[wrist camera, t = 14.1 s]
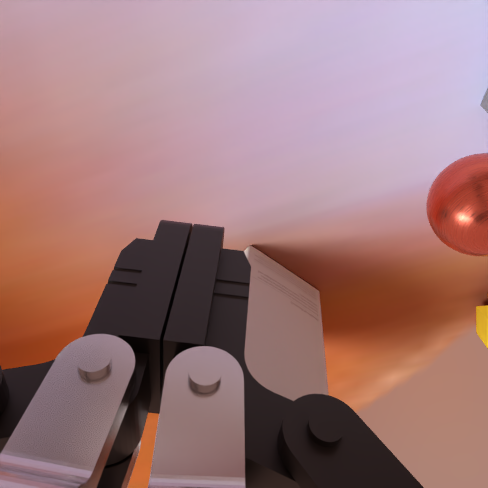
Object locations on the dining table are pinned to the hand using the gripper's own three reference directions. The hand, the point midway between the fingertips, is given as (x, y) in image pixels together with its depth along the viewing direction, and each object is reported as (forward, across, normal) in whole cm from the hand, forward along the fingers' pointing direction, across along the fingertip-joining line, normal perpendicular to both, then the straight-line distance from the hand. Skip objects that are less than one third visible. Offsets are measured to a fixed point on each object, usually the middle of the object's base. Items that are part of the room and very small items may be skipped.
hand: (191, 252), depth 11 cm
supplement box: (+18, -3, +18) cm, 26 cm away
